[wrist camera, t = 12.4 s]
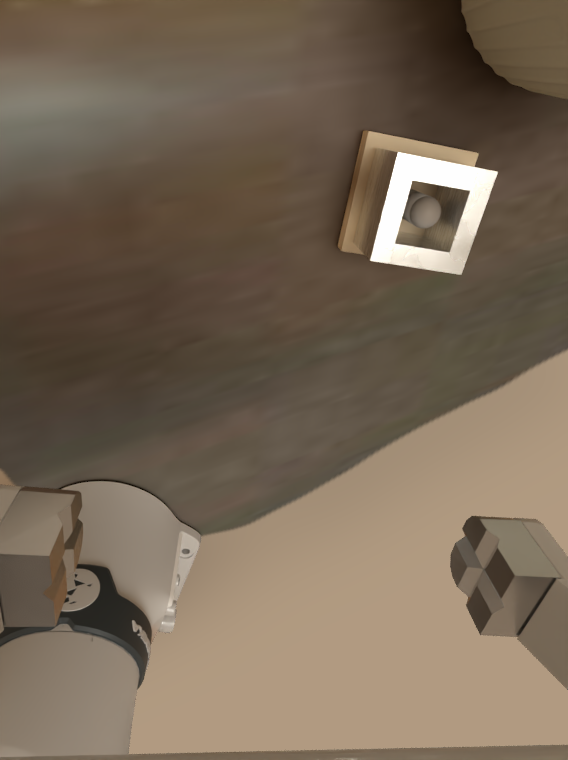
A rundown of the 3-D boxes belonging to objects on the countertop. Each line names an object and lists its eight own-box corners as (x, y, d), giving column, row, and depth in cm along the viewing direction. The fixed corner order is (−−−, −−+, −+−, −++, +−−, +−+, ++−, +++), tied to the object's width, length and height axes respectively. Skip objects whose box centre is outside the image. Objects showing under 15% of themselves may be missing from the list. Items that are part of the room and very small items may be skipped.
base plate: (433, 261, 38) (466, 284, 32) (337, 246, 36) (354, 267, 31) (469, 151, 34) (512, 158, 29) (363, 130, 33) (387, 133, 27)
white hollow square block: (433, 255, 36) (461, 274, 32) (353, 242, 35) (370, 260, 31) (462, 164, 33) (497, 171, 29) (375, 147, 32) (398, 152, 28)
